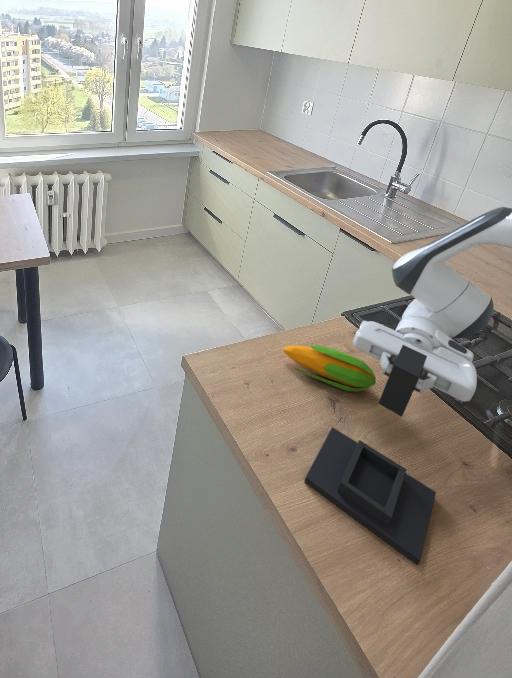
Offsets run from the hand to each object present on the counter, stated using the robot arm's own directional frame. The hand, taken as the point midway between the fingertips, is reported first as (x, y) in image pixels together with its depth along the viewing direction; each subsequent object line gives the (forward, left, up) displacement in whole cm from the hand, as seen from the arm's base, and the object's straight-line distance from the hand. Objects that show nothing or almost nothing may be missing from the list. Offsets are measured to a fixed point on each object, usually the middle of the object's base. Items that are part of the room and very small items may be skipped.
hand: (402, 381), depth 77 cm
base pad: (-4, +11, -17) cm, 20 cm away
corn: (+16, -5, -17) cm, 24 cm away
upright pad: (0, -1, -5) cm, 6 cm away
